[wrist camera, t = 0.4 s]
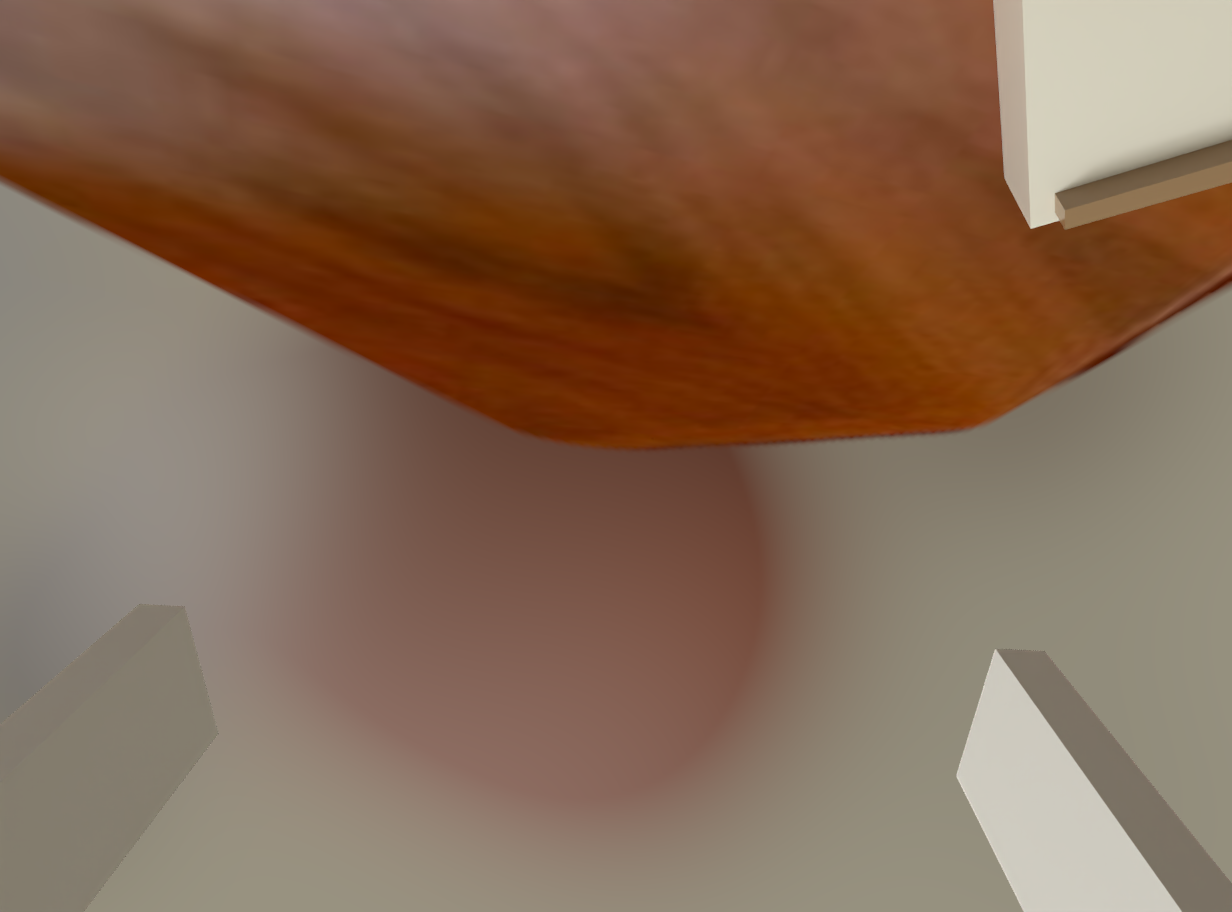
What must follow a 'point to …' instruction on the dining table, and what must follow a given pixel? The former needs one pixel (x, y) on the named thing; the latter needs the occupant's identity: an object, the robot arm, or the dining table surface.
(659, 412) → the dining table surface
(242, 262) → the dining table surface
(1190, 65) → the plinth
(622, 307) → the dining table surface
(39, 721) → the robot arm
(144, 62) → the dining table surface
